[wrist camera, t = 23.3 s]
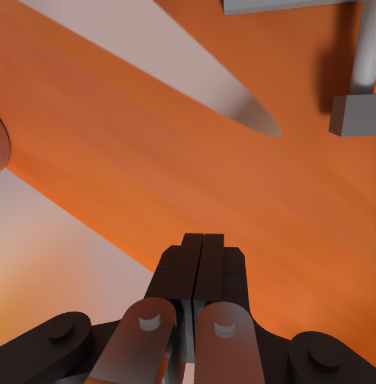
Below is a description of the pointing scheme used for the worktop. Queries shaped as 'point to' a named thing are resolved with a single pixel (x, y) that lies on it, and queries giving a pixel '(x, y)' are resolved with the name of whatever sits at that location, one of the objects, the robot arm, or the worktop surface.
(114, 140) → the worktop surface
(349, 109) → the vise jaw
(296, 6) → the vise
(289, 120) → the worktop surface
